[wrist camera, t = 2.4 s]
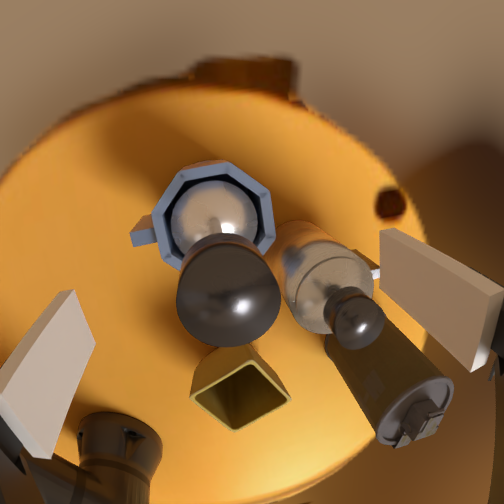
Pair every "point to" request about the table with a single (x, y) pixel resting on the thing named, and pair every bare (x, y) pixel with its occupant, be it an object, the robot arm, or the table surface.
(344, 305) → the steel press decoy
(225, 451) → the table surface
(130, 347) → the table surface
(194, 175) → the blue mug
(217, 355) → the flower pot
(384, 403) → the canister
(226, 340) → the plunger
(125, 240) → the table surface
